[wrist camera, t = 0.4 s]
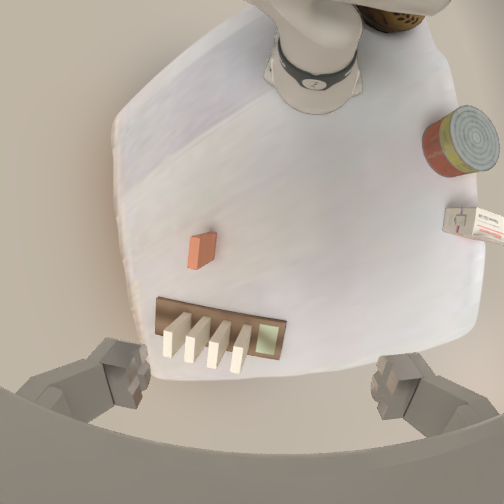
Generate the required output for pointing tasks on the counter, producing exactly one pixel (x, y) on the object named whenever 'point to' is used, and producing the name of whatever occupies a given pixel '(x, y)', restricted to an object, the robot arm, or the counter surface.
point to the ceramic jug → (389, 19)
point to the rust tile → (201, 250)
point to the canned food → (461, 143)
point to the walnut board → (262, 334)
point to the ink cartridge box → (475, 224)
